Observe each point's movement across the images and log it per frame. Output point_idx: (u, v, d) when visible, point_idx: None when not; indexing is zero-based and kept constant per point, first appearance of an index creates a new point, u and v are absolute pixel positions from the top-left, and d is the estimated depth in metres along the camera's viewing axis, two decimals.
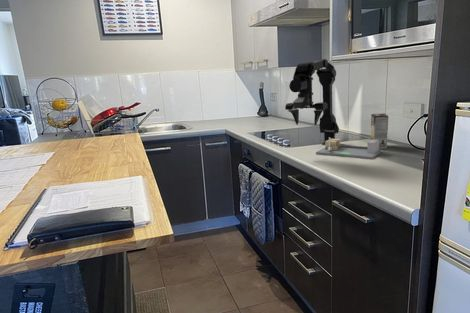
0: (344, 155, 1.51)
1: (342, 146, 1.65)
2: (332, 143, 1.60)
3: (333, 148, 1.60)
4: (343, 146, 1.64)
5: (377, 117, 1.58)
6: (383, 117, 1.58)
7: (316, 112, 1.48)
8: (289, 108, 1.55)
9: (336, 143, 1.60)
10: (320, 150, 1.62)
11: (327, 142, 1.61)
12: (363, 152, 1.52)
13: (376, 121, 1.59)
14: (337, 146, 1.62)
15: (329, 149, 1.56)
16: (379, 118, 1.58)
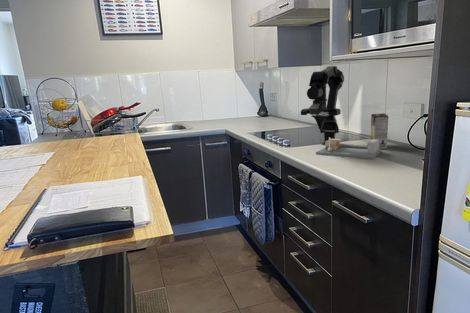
0: (344, 155, 1.51)
1: (342, 146, 1.65)
2: (332, 143, 1.60)
3: (333, 148, 1.60)
4: (343, 146, 1.64)
5: (377, 117, 1.58)
6: (383, 117, 1.58)
7: (321, 117, 1.62)
8: (304, 114, 1.66)
9: (336, 143, 1.60)
10: (320, 150, 1.62)
11: (327, 142, 1.61)
12: (363, 152, 1.52)
13: (376, 121, 1.59)
14: (337, 146, 1.62)
15: (329, 149, 1.56)
16: (379, 118, 1.58)
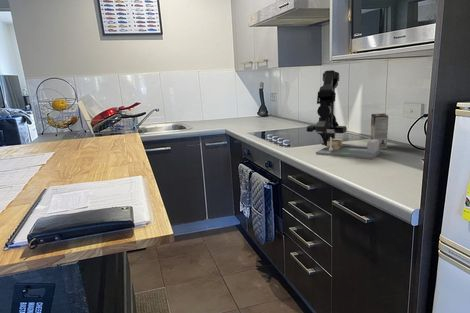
0: (344, 155, 1.51)
1: (342, 146, 1.65)
2: (334, 143, 1.59)
3: (335, 148, 1.60)
4: (343, 146, 1.64)
5: (377, 117, 1.58)
6: (383, 117, 1.58)
7: (327, 134, 1.62)
8: (310, 130, 1.66)
9: (338, 143, 1.60)
10: (320, 150, 1.62)
11: (329, 142, 1.61)
12: (363, 152, 1.52)
13: (376, 121, 1.59)
14: (339, 146, 1.61)
15: (330, 149, 1.55)
16: (379, 118, 1.58)
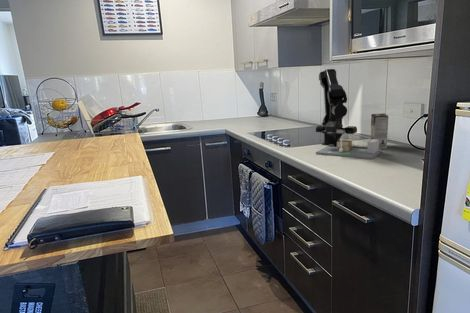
0: (344, 155, 1.51)
1: None
2: (344, 144, 1.56)
3: (345, 149, 1.57)
4: None
5: (377, 117, 1.58)
6: (383, 117, 1.58)
7: (337, 135, 1.59)
8: (319, 131, 1.63)
9: (348, 144, 1.57)
10: (320, 150, 1.62)
11: (339, 143, 1.58)
12: (363, 152, 1.52)
13: (376, 121, 1.59)
14: (349, 147, 1.58)
15: (341, 150, 1.52)
16: (379, 118, 1.58)
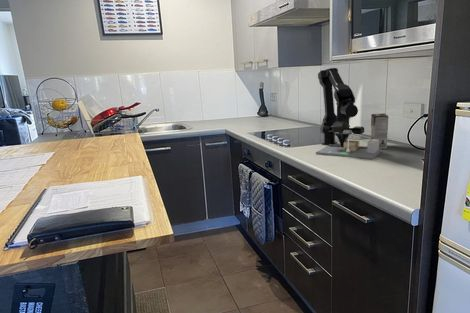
0: (344, 155, 1.51)
1: None
2: (351, 144, 1.54)
3: (352, 149, 1.55)
4: None
5: (377, 117, 1.58)
6: (383, 117, 1.58)
7: (344, 135, 1.57)
8: (326, 131, 1.61)
9: (355, 144, 1.55)
10: (320, 150, 1.62)
11: (346, 143, 1.56)
12: (363, 152, 1.52)
13: (376, 121, 1.59)
14: (356, 147, 1.56)
15: (348, 150, 1.50)
16: (379, 118, 1.58)
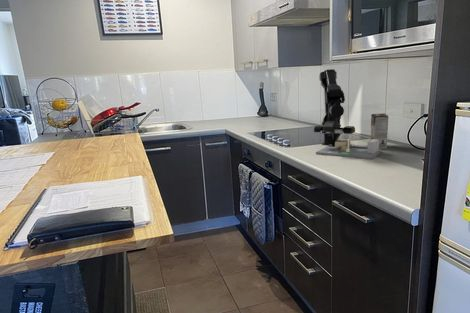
0: (344, 155, 1.51)
1: None
2: (342, 144, 1.57)
3: (343, 149, 1.57)
4: None
5: (377, 117, 1.58)
6: (383, 117, 1.58)
7: (335, 135, 1.59)
8: (318, 131, 1.63)
9: (346, 144, 1.57)
10: (320, 150, 1.62)
11: (337, 143, 1.58)
12: (363, 152, 1.52)
13: (376, 121, 1.59)
14: (347, 147, 1.59)
15: (348, 150, 1.50)
16: (379, 118, 1.58)
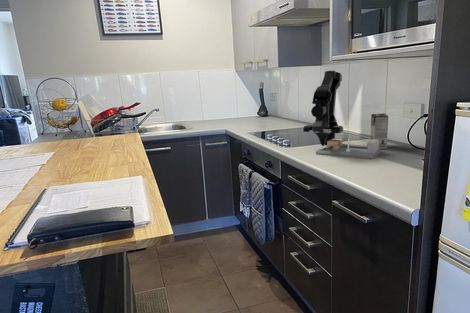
0: (344, 155, 1.51)
1: (342, 146, 1.65)
2: (334, 143, 1.59)
3: (335, 148, 1.60)
4: (343, 146, 1.64)
5: (377, 117, 1.58)
6: (383, 117, 1.58)
7: (324, 134, 1.63)
8: (307, 130, 1.67)
9: (338, 143, 1.60)
10: (320, 150, 1.62)
11: (329, 142, 1.61)
12: (363, 152, 1.52)
13: (375, 121, 1.59)
14: (339, 146, 1.61)
15: (348, 150, 1.50)
16: (379, 118, 1.58)
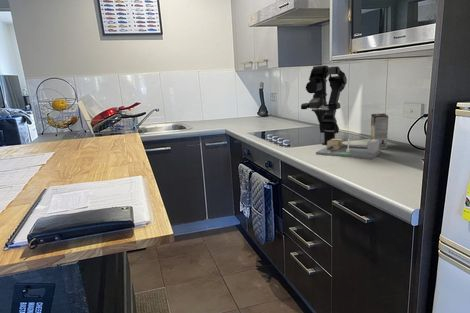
0: (344, 155, 1.51)
1: (342, 146, 1.65)
2: (334, 143, 1.59)
3: (335, 148, 1.60)
4: (343, 146, 1.64)
5: (377, 117, 1.58)
6: (383, 117, 1.58)
7: (321, 111, 1.63)
8: (304, 108, 1.68)
9: (338, 143, 1.60)
10: (320, 150, 1.62)
11: (329, 142, 1.61)
12: (363, 152, 1.52)
13: (376, 121, 1.59)
14: (339, 146, 1.61)
15: (348, 150, 1.50)
16: (379, 118, 1.58)
